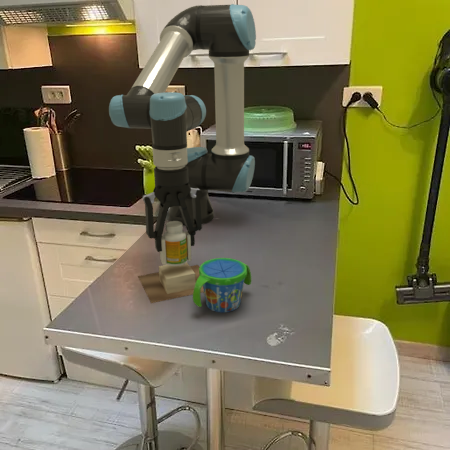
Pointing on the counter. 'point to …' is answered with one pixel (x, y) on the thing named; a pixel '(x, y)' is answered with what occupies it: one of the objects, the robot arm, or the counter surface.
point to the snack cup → (221, 283)
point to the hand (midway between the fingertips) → (175, 260)
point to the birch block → (177, 278)
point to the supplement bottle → (175, 244)
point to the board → (157, 290)
